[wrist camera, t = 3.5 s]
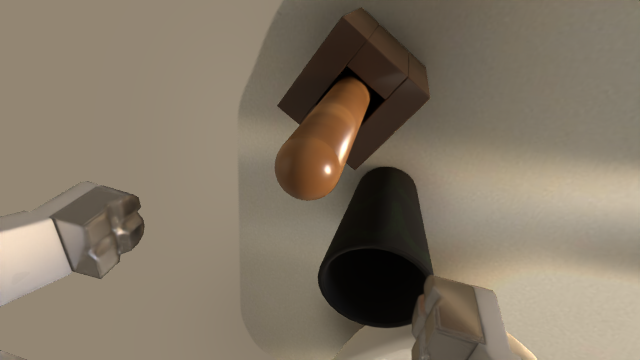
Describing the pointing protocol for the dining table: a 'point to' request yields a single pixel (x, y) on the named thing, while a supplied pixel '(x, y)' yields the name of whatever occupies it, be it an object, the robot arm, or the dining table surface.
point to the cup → (378, 253)
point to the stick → (323, 140)
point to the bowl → (397, 345)
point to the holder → (373, 68)
